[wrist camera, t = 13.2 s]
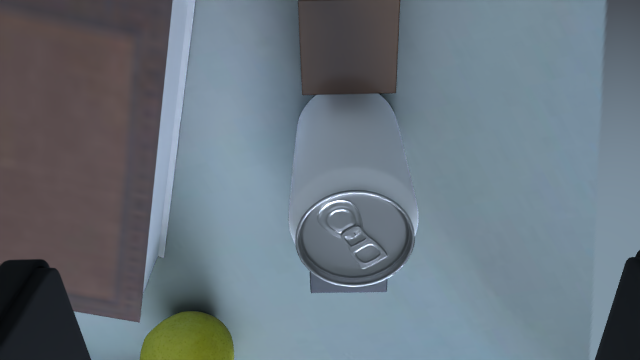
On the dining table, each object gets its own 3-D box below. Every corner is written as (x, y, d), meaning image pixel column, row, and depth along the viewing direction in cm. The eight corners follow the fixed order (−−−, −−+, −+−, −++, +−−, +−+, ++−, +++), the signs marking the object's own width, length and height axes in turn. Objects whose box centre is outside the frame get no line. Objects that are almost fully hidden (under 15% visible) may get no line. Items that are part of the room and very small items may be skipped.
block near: (390, -25, 33) (400, -2, 28) (387, 61, 35) (396, 93, 31) (301, -23, 33) (297, 0, 28) (304, 63, 35) (301, 95, 31)
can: (362, 61, 35) (376, 157, 25) (415, 140, 38) (449, 255, 28) (276, 117, 37) (257, 227, 27) (333, 188, 40) (336, 312, 30)
